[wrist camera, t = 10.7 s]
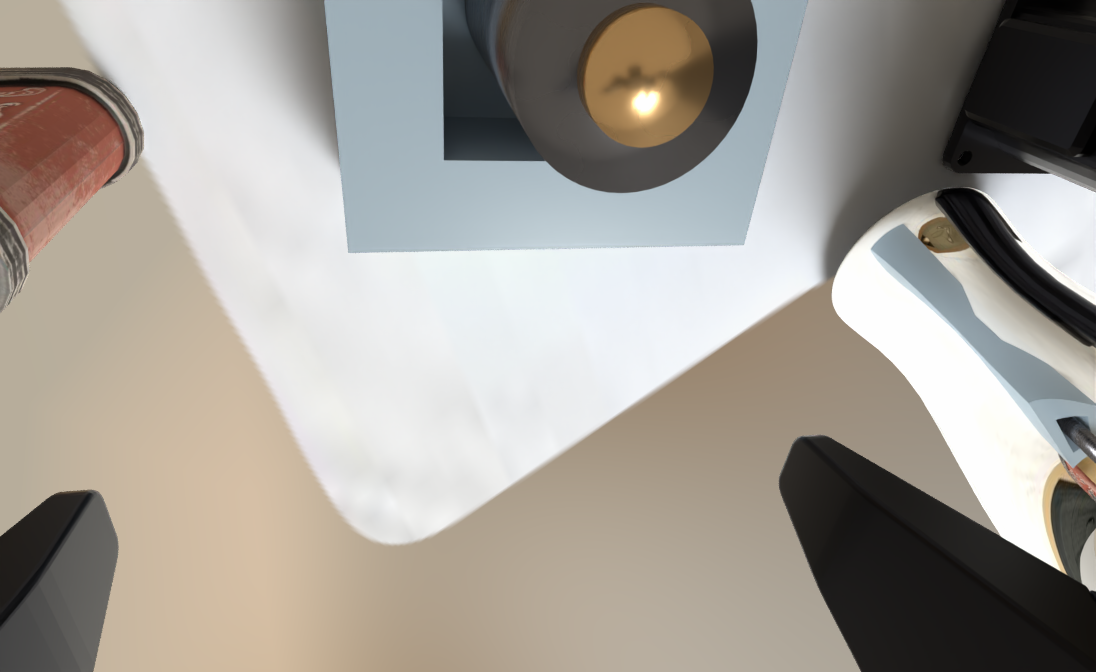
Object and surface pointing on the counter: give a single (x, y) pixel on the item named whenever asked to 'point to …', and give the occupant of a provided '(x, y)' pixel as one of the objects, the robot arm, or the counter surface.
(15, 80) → the red decorated tea tin
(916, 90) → the counter surface
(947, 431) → the shiny silver cylinder
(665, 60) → the cell
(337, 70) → the box
